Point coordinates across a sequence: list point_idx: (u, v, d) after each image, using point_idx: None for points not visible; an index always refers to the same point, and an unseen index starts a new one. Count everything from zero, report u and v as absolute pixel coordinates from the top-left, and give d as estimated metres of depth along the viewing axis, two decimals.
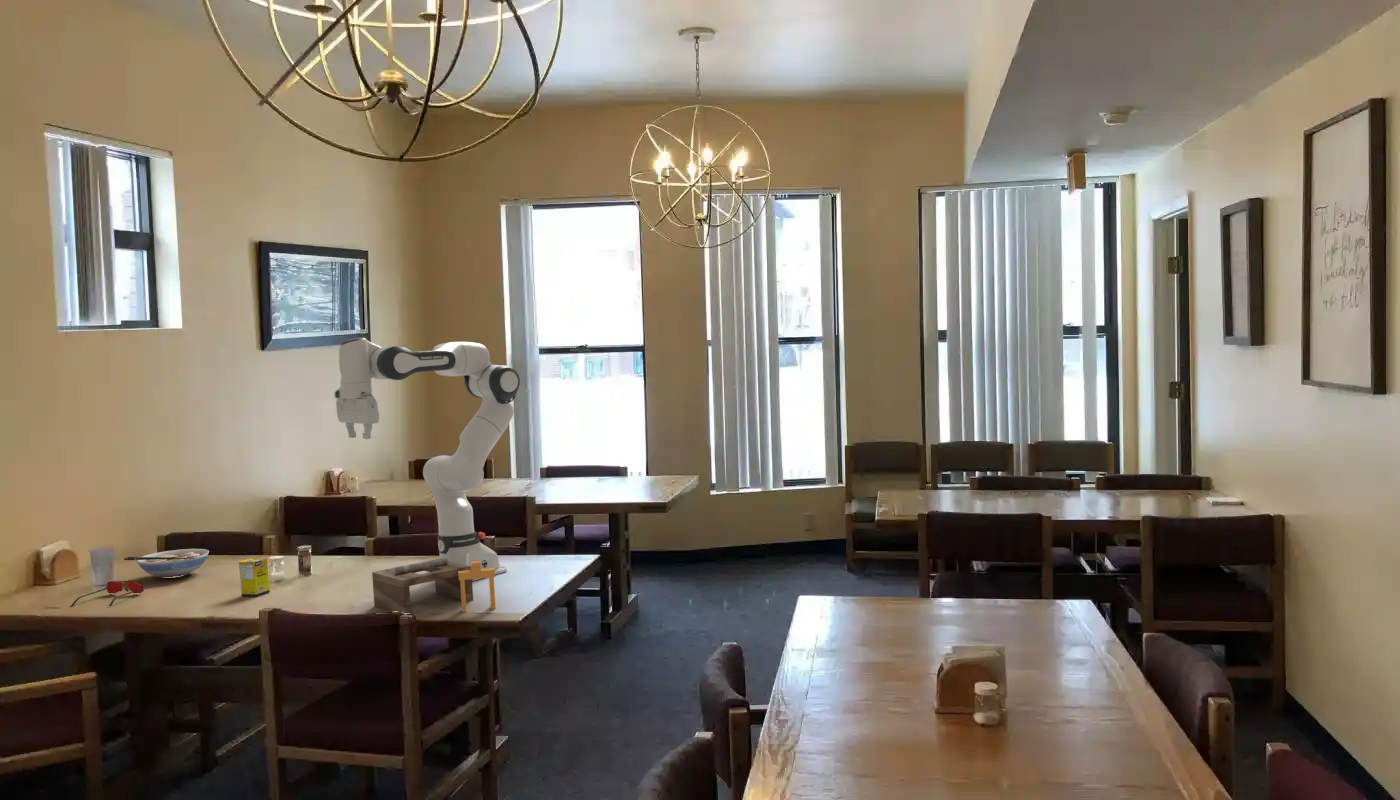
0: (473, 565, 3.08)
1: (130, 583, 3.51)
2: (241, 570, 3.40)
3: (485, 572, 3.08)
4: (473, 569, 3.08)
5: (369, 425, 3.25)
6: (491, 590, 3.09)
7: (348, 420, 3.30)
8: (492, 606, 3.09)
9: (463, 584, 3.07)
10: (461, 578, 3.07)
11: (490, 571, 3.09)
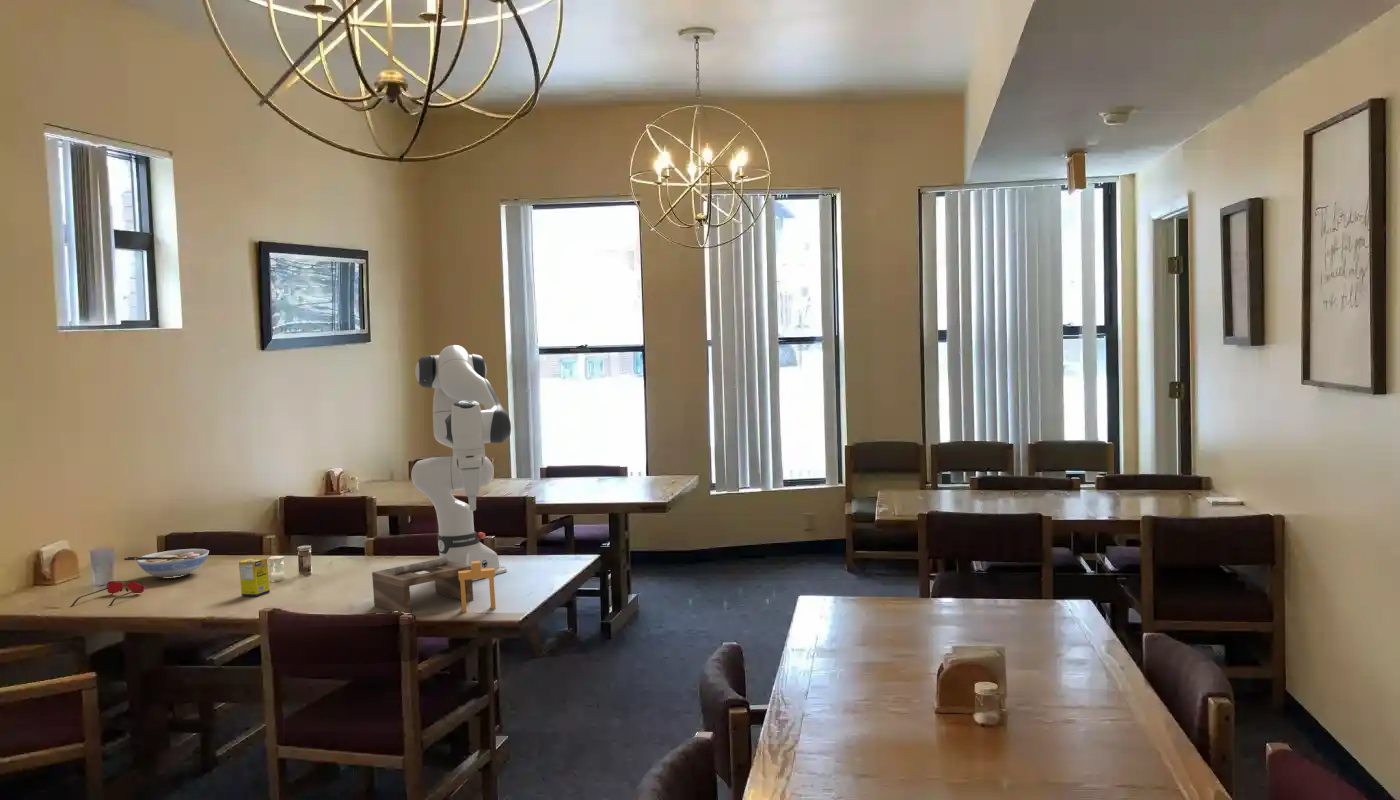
0: (473, 565, 3.08)
1: (130, 583, 3.51)
2: (241, 570, 3.40)
3: (485, 572, 3.08)
4: (473, 569, 3.08)
5: None
6: (491, 590, 3.09)
7: None
8: (492, 606, 3.09)
9: (463, 584, 3.07)
10: (461, 578, 3.07)
11: (490, 571, 3.09)
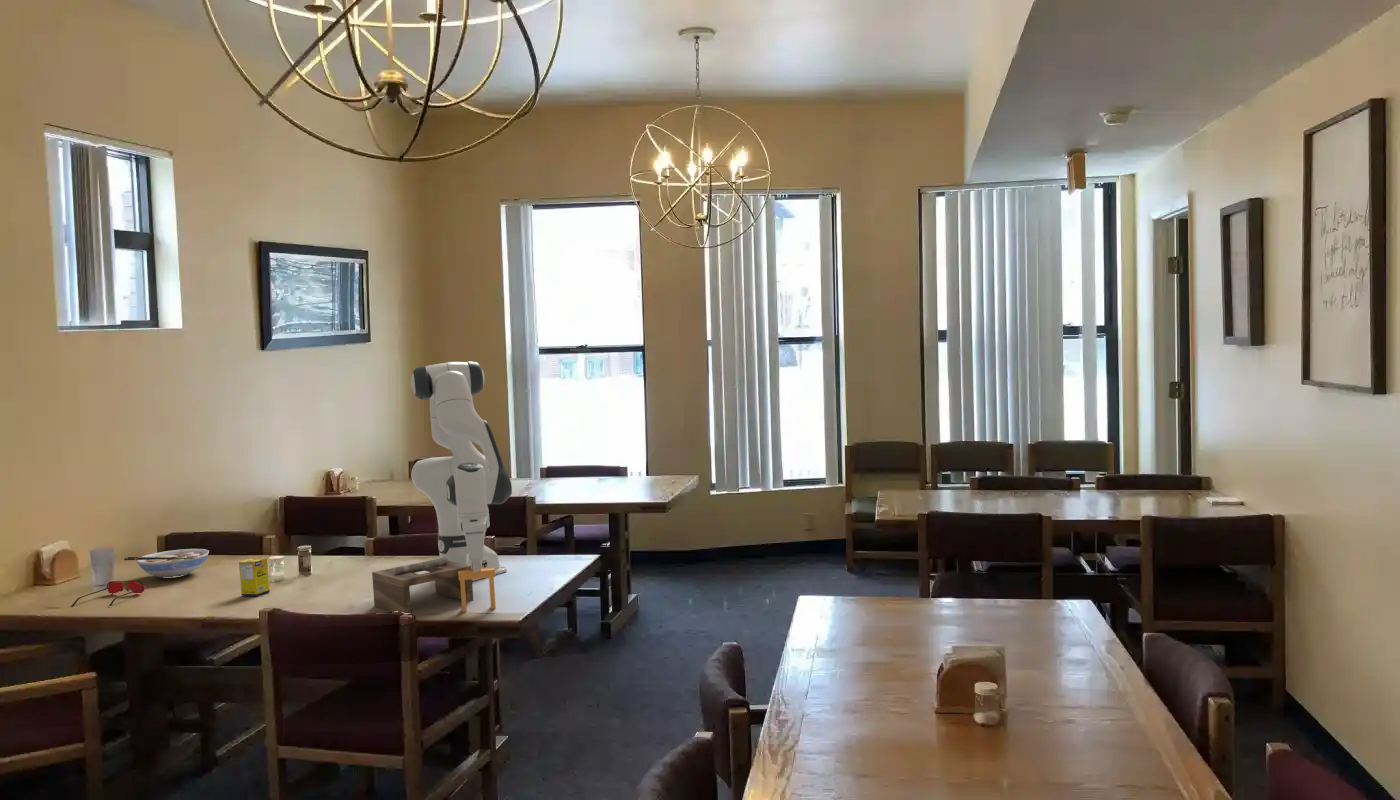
0: None
1: (131, 583, 3.51)
2: (241, 570, 3.40)
3: (485, 572, 3.08)
4: None
5: None
6: (491, 590, 3.09)
7: None
8: (492, 606, 3.09)
9: (463, 584, 3.07)
10: (461, 578, 3.07)
11: (490, 571, 3.09)
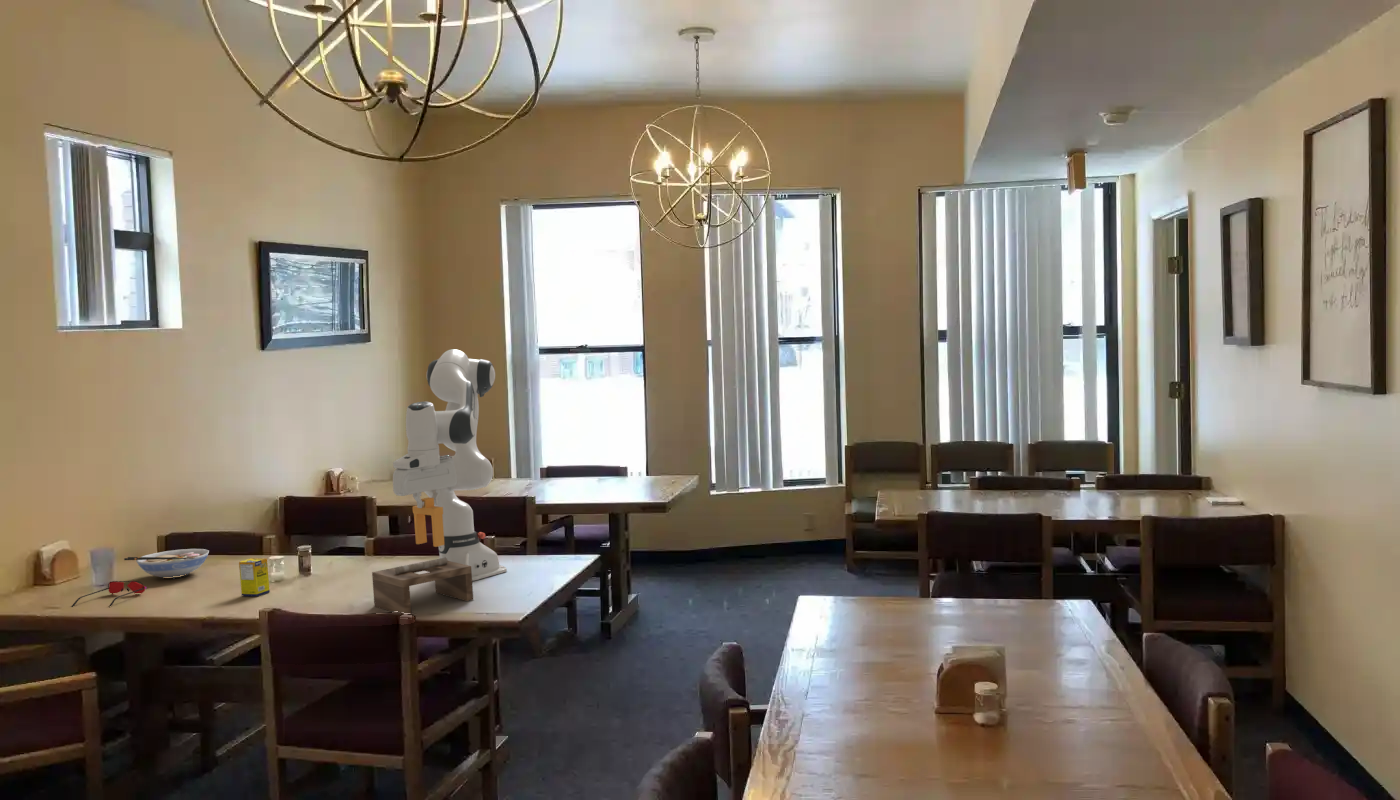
0: None
1: (131, 583, 3.51)
2: (241, 570, 3.40)
3: (428, 509, 3.15)
4: None
5: None
6: (433, 528, 3.14)
7: (422, 489, 3.13)
8: (434, 544, 3.15)
9: (415, 517, 3.19)
10: (414, 511, 3.19)
11: (431, 509, 3.14)
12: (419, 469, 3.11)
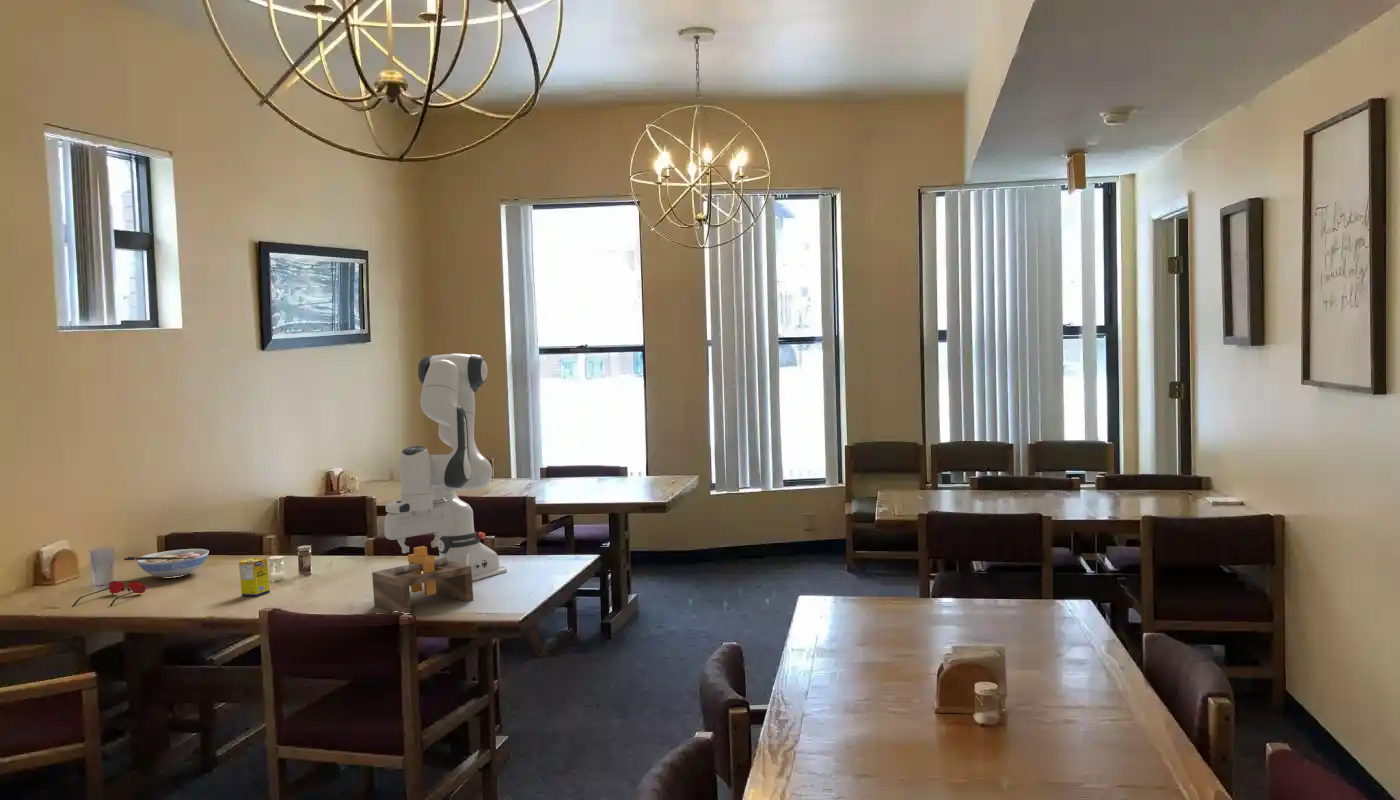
0: (414, 549, 3.19)
1: (132, 583, 3.50)
2: (241, 570, 3.40)
3: (420, 558, 3.17)
4: (414, 553, 3.19)
5: None
6: None
7: (413, 533, 3.16)
8: (425, 593, 3.16)
9: None
10: (409, 560, 3.22)
11: (422, 558, 3.16)
12: (410, 513, 3.14)
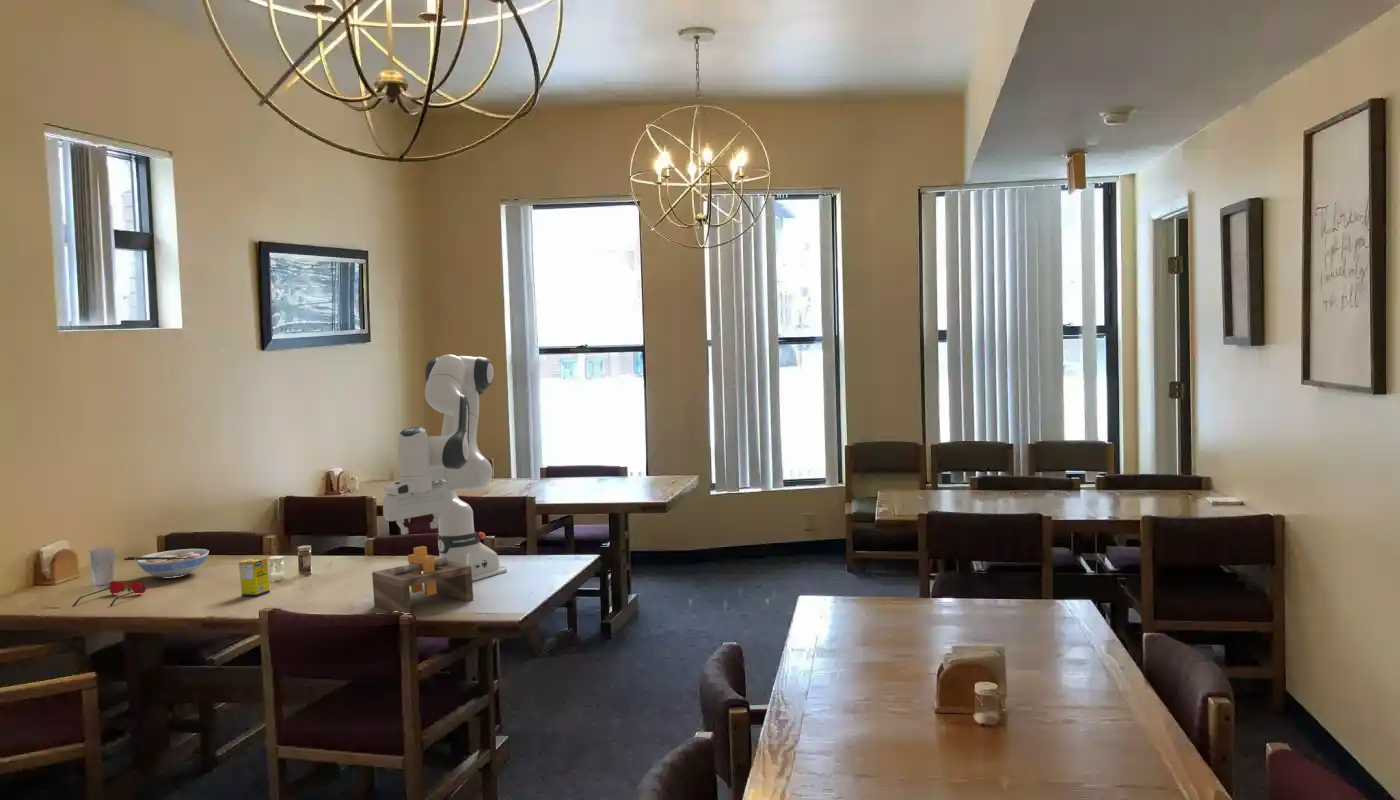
0: (414, 549, 3.19)
1: (132, 583, 3.50)
2: (241, 570, 3.40)
3: (420, 558, 3.17)
4: (414, 553, 3.19)
5: None
6: None
7: (412, 514, 3.16)
8: (425, 592, 3.16)
9: None
10: (409, 560, 3.22)
11: (422, 558, 3.16)
12: (409, 495, 3.14)
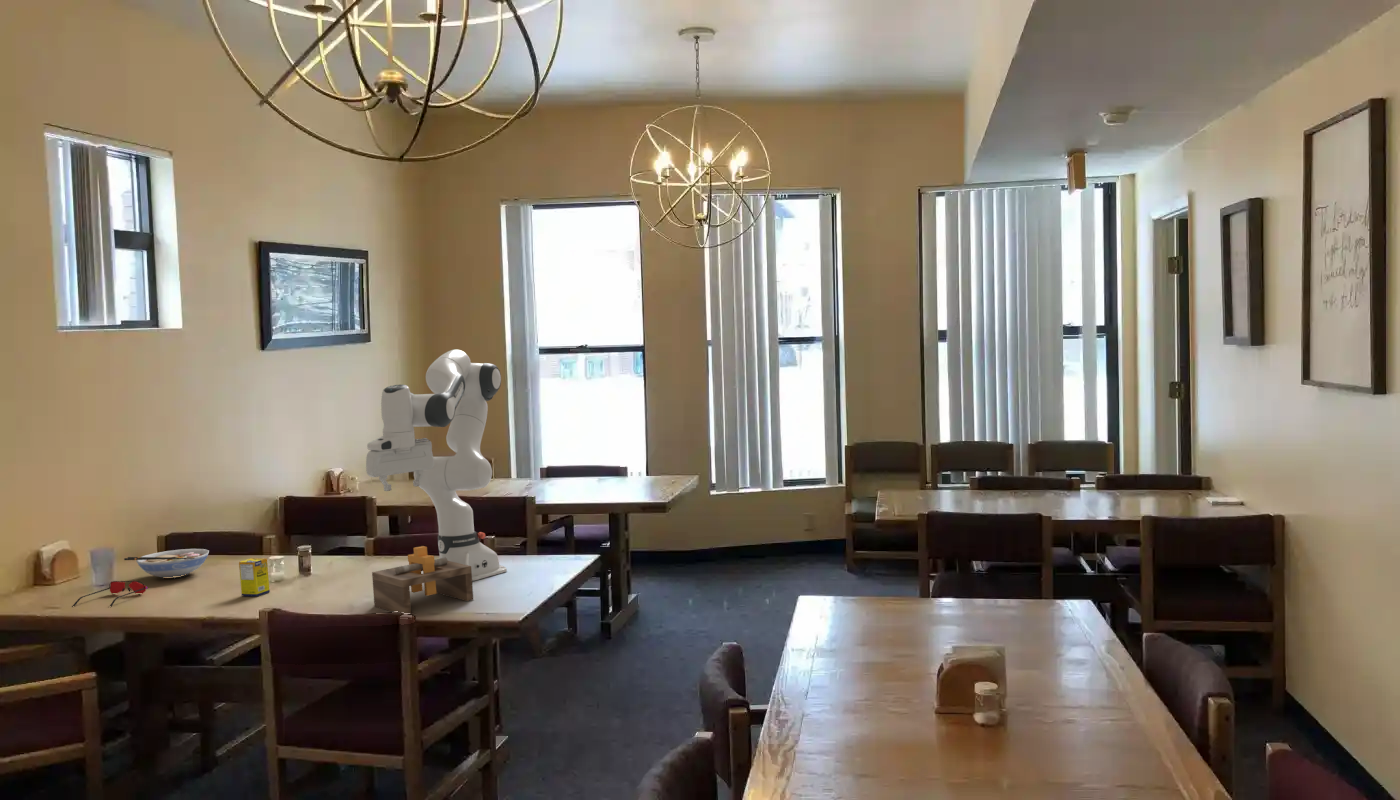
0: (414, 549, 3.19)
1: (132, 583, 3.50)
2: (241, 570, 3.40)
3: (420, 558, 3.17)
4: (414, 553, 3.19)
5: None
6: None
7: (395, 471, 3.16)
8: (425, 592, 3.16)
9: None
10: (409, 560, 3.22)
11: (422, 558, 3.16)
12: (392, 451, 3.14)
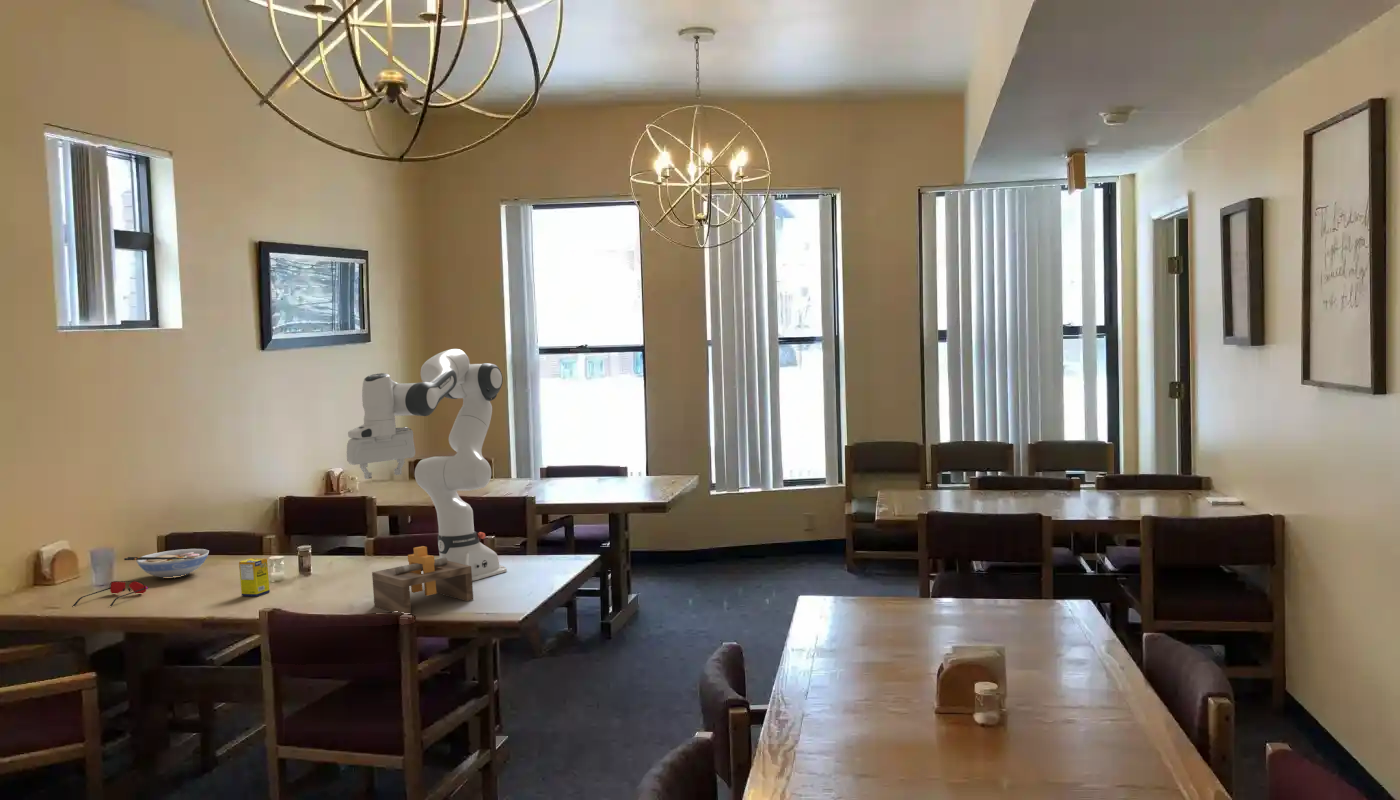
0: (414, 549, 3.19)
1: (133, 583, 3.50)
2: (241, 570, 3.40)
3: (420, 558, 3.17)
4: (414, 553, 3.19)
5: None
6: None
7: (376, 459, 3.18)
8: (425, 592, 3.16)
9: None
10: (409, 560, 3.22)
11: (422, 558, 3.16)
12: (372, 439, 3.16)
